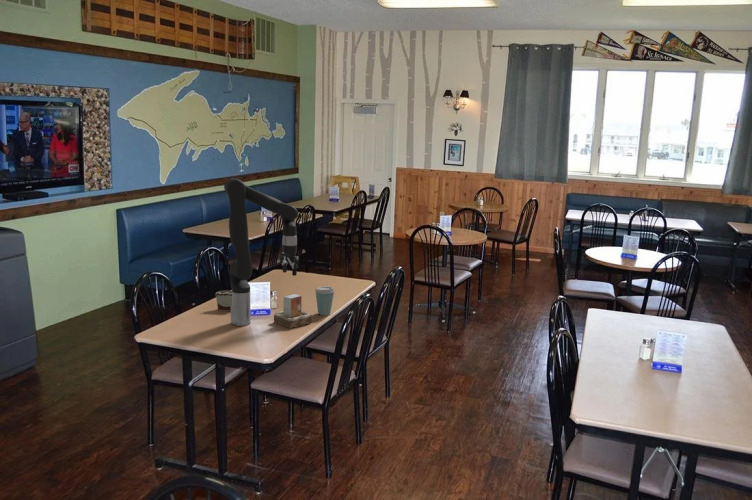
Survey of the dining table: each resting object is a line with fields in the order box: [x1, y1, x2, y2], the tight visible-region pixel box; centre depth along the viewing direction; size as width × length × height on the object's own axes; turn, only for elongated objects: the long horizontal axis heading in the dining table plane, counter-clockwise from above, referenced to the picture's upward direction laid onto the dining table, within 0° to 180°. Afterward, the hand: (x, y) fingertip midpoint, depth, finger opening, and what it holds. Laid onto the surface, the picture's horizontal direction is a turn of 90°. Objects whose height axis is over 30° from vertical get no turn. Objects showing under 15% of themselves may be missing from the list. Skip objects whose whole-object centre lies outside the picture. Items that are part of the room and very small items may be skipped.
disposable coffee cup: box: [315, 286, 335, 316], centre depth 354 cm, size 11×11×15 cm
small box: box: [282, 293, 303, 318], centre depth 337 cm, size 8×6×10 cm
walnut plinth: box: [273, 310, 313, 329], centre depth 338 cm, size 14×14×5 cm
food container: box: [214, 290, 232, 312], centre depth 358 cm, size 12×6×10 cm, turn 84°
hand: (289, 273), depth 340 cm, fingers open, 8 cm apart
